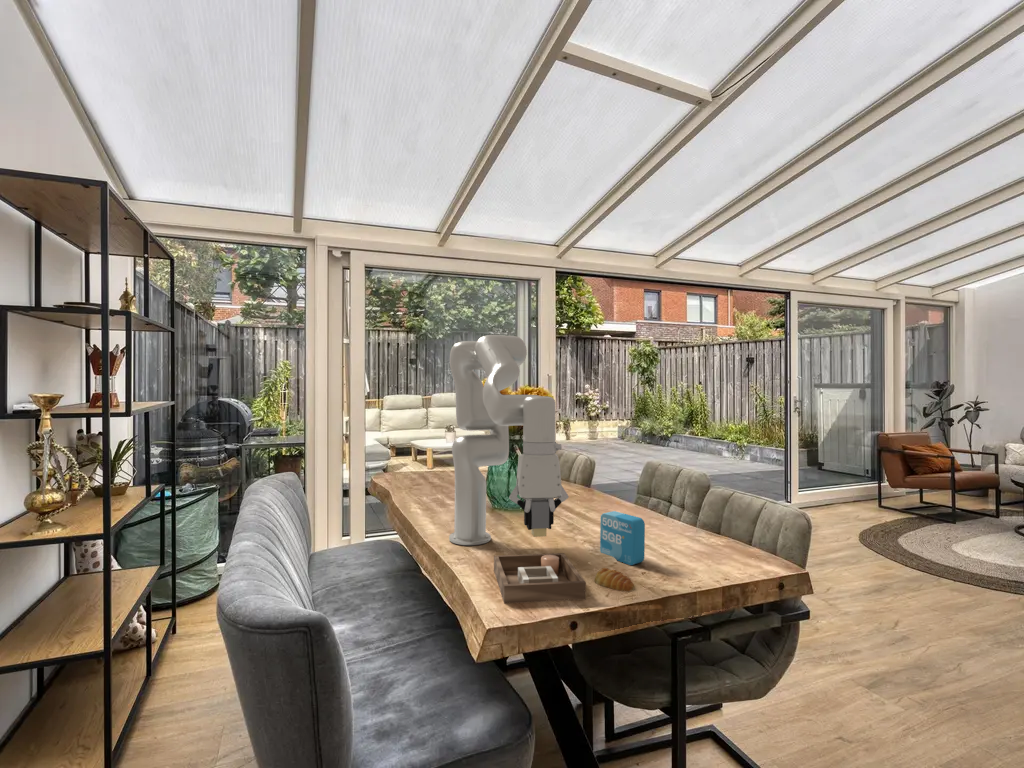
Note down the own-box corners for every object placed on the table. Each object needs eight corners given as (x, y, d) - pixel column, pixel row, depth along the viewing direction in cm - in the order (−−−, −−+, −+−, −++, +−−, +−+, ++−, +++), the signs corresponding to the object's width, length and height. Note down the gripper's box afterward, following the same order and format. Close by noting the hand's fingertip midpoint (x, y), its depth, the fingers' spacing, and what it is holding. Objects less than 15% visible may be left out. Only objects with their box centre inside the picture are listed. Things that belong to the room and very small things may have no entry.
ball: (539, 571, 135) (539, 555, 135) (556, 570, 136) (556, 554, 136) (542, 577, 131) (543, 561, 131) (560, 576, 131) (560, 560, 131)
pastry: (640, 591, 126) (641, 574, 126) (623, 598, 121) (623, 582, 121) (608, 579, 133) (608, 564, 133) (591, 586, 128) (591, 570, 128)
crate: (493, 573, 135) (493, 555, 135) (563, 570, 138) (563, 553, 138) (504, 606, 116) (504, 586, 116) (585, 602, 118) (585, 582, 118)
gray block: (528, 532, 127) (529, 498, 127) (545, 532, 128) (545, 498, 128) (531, 537, 123) (532, 502, 123) (549, 536, 124) (549, 502, 124)
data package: (599, 555, 151) (600, 512, 151) (610, 551, 154) (610, 509, 153) (633, 567, 141) (634, 521, 141) (644, 563, 144) (645, 518, 144)
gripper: (570, 447, 130) (569, 522, 130) (501, 447, 128) (501, 525, 128) (578, 450, 123) (577, 531, 123) (505, 451, 120) (505, 533, 120)
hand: (538, 527), depth 125 cm, fingers closed on gray block, 4 cm apart
